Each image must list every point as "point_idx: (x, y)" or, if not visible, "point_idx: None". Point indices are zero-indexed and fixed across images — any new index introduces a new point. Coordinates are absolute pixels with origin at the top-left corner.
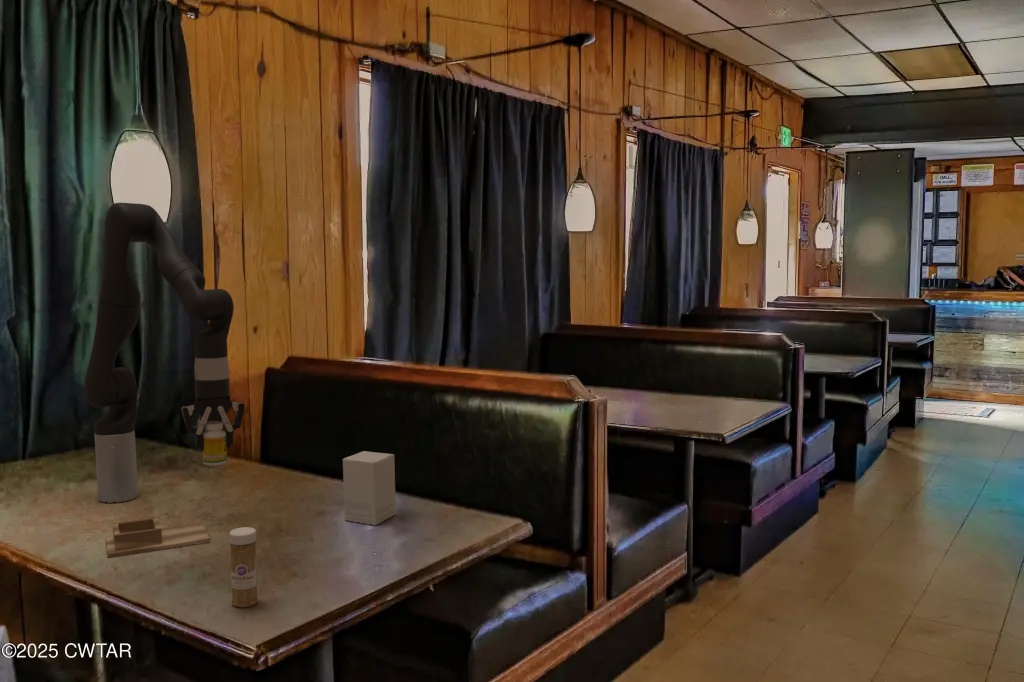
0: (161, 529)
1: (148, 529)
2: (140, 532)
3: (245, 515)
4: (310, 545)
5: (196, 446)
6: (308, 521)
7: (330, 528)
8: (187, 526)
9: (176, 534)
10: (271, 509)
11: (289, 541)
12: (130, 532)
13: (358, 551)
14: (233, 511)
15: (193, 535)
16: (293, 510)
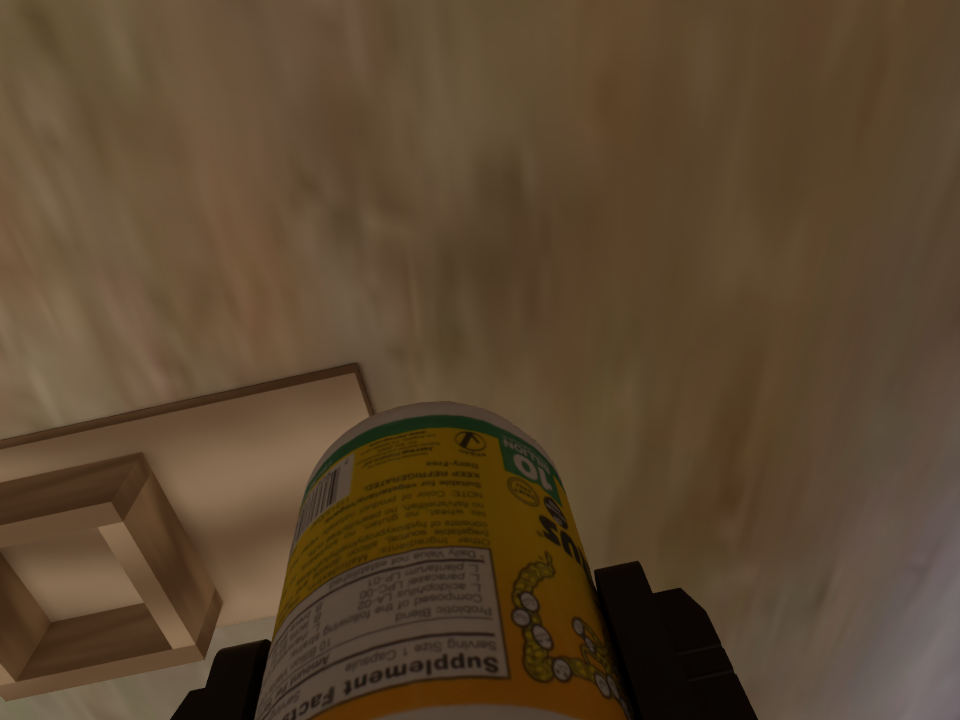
0: (151, 432)
1: (140, 655)
2: (115, 676)
3: (588, 224)
4: (794, 651)
5: (185, 709)
6: (879, 403)
7: (930, 508)
8: (283, 412)
9: (257, 513)
10: (753, 137)
11: (733, 608)
12: (65, 677)
13: (918, 712)
14: (516, 114)
15: None
16: (869, 197)
